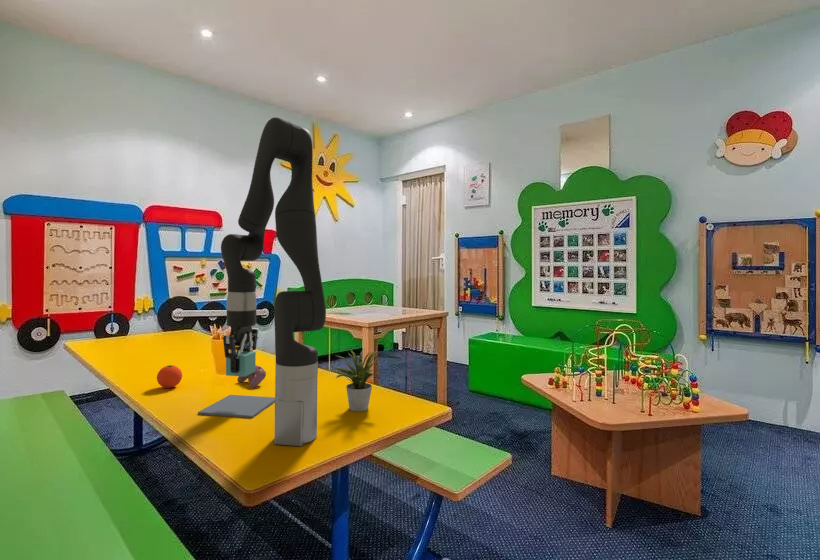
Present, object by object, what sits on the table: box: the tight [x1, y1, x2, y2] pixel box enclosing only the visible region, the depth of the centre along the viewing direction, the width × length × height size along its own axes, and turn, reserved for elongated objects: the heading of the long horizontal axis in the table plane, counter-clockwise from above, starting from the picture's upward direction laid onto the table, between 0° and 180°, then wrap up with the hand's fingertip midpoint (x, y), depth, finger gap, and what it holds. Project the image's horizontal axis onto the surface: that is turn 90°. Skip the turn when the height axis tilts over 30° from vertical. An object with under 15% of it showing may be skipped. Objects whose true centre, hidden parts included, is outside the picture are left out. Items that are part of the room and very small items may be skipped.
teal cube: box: [225, 350, 257, 377], centre depth 114 cm, size 6×6×6 cm
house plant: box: [331, 350, 381, 412], centre depth 116 cm, size 14×14×16 cm
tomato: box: [156, 364, 183, 389], centre depth 131 cm, size 8×7×7 cm
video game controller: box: [237, 365, 267, 389], centre depth 136 cm, size 10×5×7 cm, turn 48°
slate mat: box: [197, 394, 275, 419], centre depth 114 cm, size 15×15×1 cm
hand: (241, 369), depth 114 cm, fingers closed on teal cube, 5 cm apart
